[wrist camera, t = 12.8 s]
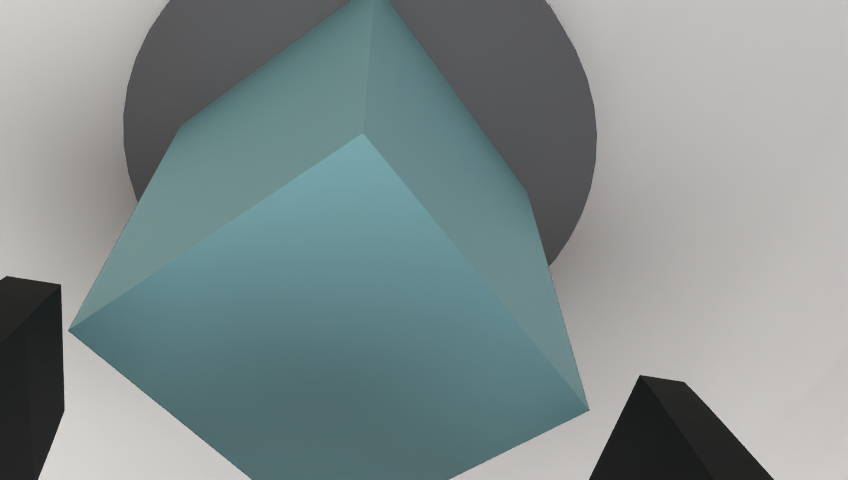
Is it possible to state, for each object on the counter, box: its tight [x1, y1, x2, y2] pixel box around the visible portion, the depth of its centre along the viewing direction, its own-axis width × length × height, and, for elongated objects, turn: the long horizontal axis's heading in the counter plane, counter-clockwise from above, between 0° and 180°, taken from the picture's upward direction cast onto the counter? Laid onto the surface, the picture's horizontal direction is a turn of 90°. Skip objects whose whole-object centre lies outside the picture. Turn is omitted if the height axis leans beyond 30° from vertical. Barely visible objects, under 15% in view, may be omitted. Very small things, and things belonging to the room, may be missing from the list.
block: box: [68, 0, 589, 480], centre depth 13 cm, size 5×4×6 cm
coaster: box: [123, 0, 597, 267], centre depth 16 cm, size 9×9×1 cm
